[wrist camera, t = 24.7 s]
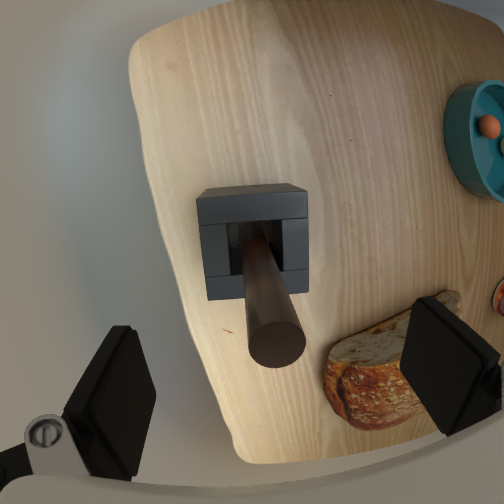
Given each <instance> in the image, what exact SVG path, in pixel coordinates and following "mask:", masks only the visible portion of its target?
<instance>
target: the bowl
mask: <svg viewBox="0 0 504 504" xmlns="http://www.w3.org/2000/svg"><path fill="white" fill-rule="evenodd" d="M486 114H490V115H492V116H494V117H495V118H496V119H497V120H498V121H499V124H500V128H501V129H500V134H499V136H498V137H497V138H495V139H488V138H486V137H484V136H483V135H482V133H481V132H480V130H479V120H480V118H481V117H482V116H483V115H486ZM503 137H504V83H503V82H501V81H499V80H496V79H495V80H486V81H481V82H476V83H472V84H467V85H464V86H462V87H460V88H458V89H457V90H456V91H455V92H454V93H453V94H452V96H451V97H450V99H449V101H448V104H447V107H446V110H445V116H444V139H445V146H446V151H447V155H448V158H449V161H450V164H451V166H452V169H453V171H454V173H455V175H456V176H457V178H458V180H459V181H460V182H461V184H462V185H463V186H464V187H465V188H466V189H467V190H468V191H469V192H471V193H472V194H474V195H476V196H479V197H481V198H485V199H489V200H493V201H497V202H500V203H504V154H503V153H502V151H501V147H500V143H501V140H502V138H503Z"/></svg>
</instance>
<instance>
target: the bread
mask: <svg viewBox="0 0 504 504" xmlns="http://www.w3.org/2000/svg"><path fill="white" fill-rule="evenodd" d="M435 298H436V299H437V300H438V301H440V302H441V303H442V304H443V305H444V306H446V307H447V308H448V309H449V310H450V311H452V312H453V313H454V314H455V315H456V316H458V317H459V318H460V319H461V320H462V321H463V317H462V299H461V296H460V294H459V292H458V291H454V290H449V291H444V292H442V293H440V294H439V295H437V296H435ZM410 314H411V309H409V310H407V311H406V312H403V313H401V314H399V315H397V316H395V317H393V318H391V319H389V320H387V321H385V322H383V323H381V324H379V325H377V326H375V327H373V328H371V329H369V330H366V331H364V332H362V333H359V334H356V335H353V336H351V337H348V338H346V339H343V340H342V341H340V342H339V343H337V344H336V345H335V346H334V347H333V348H332V349H331V351H330V354H329V356H328V358H327V361H326V366H325V369H324V382H323V390H324V393H325V395H326V397H327V399H328V401H329V403H330V404H331V406H332V408H333V410H334V412H335V413H336V414H337V415H339V416H340V417H342V418H343V419H344V420H346V421H347V422H348V423H349V424H350V425H351V426H353V427H354V428H356V429H358V430H362V431H371V430H381V429H385V428H390V427H393V426H395V425H398V424H401V423H403V422H405V421H407V420H409V419H411V418H413V417H415V416H417V415H419V414H421V413H423V412H424V411H426V409H425V407H424V406H423V404H422V403H421V401H420V400H419V398H418V397H417V395H416V394H415V392H414V391H413V389H412V388H411V386H410V385H409V383H408V382H407V380H406V379H405V377H404V376H403V375H402V373H401V371H400V367H399V363H400V359H401V355H402V351H403V347H404V342H405V338H406V333H407V329H408V324H409V319H410Z"/></svg>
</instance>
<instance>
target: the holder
mask: <svg viewBox="0 0 504 504" xmlns="http://www.w3.org/2000/svg"><path fill="white" fill-rule="evenodd" d="M196 202H197V212H198V222H199V231H200V241H201V249H202V258H203V266H204V274H205V282H206V290H207V297H208V301H211V300H225V299H239V298H245V297H244V283H243V269H242V255H241V246H238V247H232V242H231V231H230V223H237V222H250V221H264V220H270V223H271V243H272V244H269V246H270V249H271V251H272V254H273V256H274V259H275V261H276V264H277V266H278V269H279V271H280V274H281V276H282V279H283V281H284V284H285V286H286V289H287V291H288V294H296V293H306V292H309V233H308V196H307V191H306V190H303V189H301V188H298V187H296V186H293V185H291V184H288V183H284V184H266V185H250V186H237V187H224V188H212V189H206V190H205V191H204V192H203V193H202V194H201V195H200V196H199V197H198V198H197V199H196Z"/></svg>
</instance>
